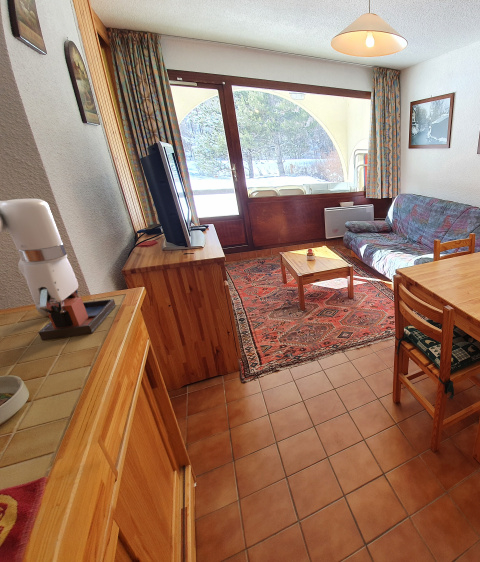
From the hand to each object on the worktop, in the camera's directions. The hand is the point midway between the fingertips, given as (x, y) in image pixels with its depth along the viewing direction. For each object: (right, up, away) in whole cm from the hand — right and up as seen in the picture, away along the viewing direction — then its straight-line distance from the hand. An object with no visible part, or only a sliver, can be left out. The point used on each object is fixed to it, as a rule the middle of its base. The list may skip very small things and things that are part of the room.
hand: (70, 320), depth 79 cm
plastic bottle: (-12, +1, +9) cm, 15 cm away
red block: (0, -1, 0) cm, 1 cm away
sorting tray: (-1, -1, +5) cm, 5 cm away
